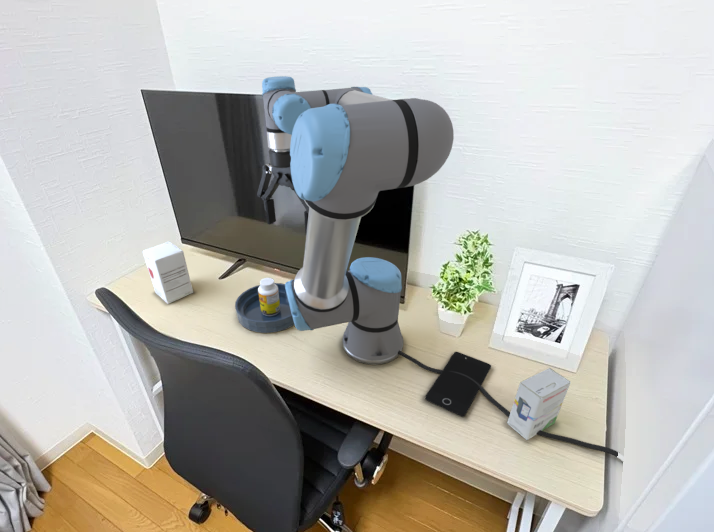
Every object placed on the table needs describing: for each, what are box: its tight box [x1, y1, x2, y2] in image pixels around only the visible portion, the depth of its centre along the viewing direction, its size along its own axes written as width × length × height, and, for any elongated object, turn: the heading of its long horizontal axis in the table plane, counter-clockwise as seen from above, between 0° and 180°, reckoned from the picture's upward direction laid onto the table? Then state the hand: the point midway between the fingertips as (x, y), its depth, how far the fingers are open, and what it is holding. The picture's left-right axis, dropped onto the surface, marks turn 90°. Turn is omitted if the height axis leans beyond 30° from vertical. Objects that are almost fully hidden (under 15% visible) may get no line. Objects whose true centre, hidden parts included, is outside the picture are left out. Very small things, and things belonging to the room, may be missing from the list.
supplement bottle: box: [258, 277, 280, 316], centre depth 116 cm, size 6×6×10 cm
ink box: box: [506, 367, 572, 441], centre depth 81 cm, size 9×5×12 cm, turn 118°
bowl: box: [234, 282, 295, 334], centre depth 118 cm, size 19×19×4 cm
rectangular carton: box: [142, 241, 194, 305], centre depth 125 cm, size 9×9×15 cm
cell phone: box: [424, 351, 492, 418], centre depth 94 cm, size 9×18×1 cm, turn 144°
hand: (290, 228), depth 114 cm, fingers open, 13 cm apart
